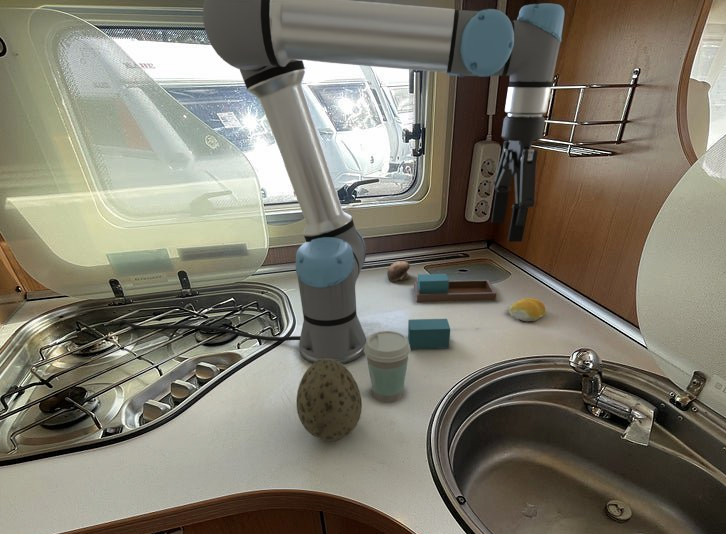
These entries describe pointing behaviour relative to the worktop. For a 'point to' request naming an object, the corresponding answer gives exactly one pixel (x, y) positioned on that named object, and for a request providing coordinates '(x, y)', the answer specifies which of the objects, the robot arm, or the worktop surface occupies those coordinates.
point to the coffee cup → (387, 364)
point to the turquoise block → (433, 283)
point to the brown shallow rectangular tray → (460, 292)
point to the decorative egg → (328, 400)
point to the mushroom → (398, 271)
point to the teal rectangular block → (428, 333)
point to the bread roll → (527, 309)
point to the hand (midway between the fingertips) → (505, 231)
